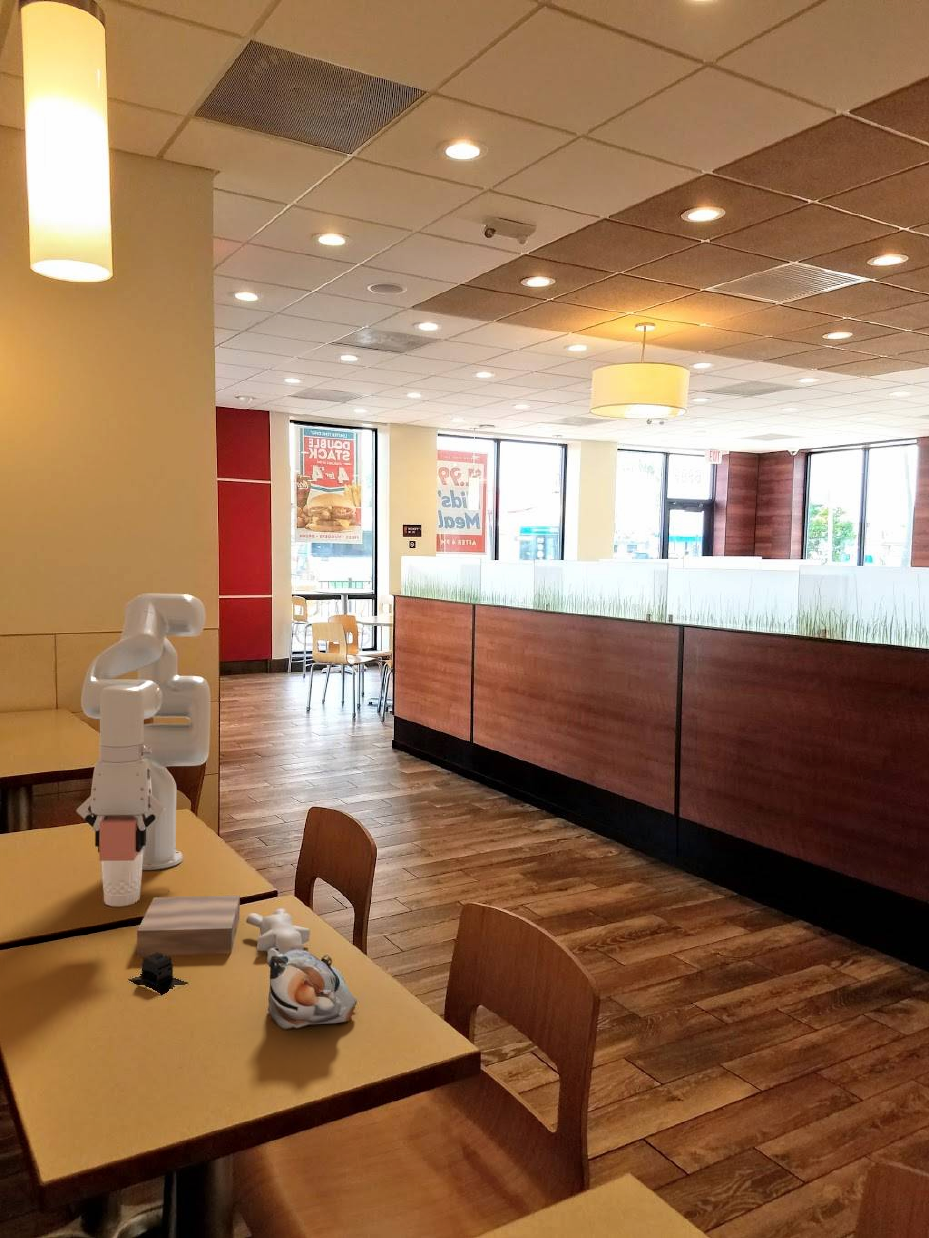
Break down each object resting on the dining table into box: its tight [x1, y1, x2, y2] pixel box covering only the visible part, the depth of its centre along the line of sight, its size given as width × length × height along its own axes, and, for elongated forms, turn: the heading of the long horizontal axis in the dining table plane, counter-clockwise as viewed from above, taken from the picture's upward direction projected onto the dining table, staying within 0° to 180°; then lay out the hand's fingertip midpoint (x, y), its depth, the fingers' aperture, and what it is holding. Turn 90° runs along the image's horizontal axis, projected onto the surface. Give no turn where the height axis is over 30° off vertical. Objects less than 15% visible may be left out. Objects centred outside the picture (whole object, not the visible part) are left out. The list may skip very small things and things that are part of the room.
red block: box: [98, 816, 139, 862], centre depth 170 cm, size 6×6×7 cm
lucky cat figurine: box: [266, 947, 358, 1030], centre depth 140 cm, size 15×12×14 cm
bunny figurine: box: [245, 907, 311, 954], centre depth 167 cm, size 10×5×15 cm
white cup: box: [101, 850, 143, 908], centre depth 186 cm, size 8×8×10 cm
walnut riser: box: [136, 895, 241, 957], centre depth 170 cm, size 16×16×5 cm
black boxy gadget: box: [127, 952, 189, 996], centre depth 151 cm, size 12×7×5 cm, turn 57°
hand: (120, 849), depth 170 cm, fingers closed on red block, 6 cm apart
